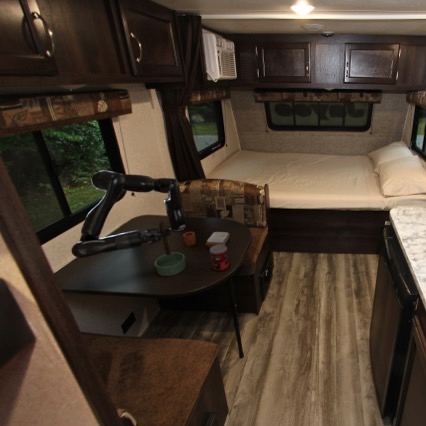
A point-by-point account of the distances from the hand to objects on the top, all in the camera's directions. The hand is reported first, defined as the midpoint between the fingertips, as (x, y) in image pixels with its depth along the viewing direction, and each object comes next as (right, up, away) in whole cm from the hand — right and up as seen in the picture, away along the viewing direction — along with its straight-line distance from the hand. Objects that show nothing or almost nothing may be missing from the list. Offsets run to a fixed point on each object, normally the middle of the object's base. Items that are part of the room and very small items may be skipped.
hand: (170, 231), depth 141 cm
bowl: (-3, -19, +7) cm, 20 cm away
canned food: (+22, -19, +9) cm, 30 cm away
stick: (-3, -11, +4) cm, 12 cm away
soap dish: (+14, -9, +29) cm, 33 cm away
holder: (-2, -9, +28) cm, 30 cm away
